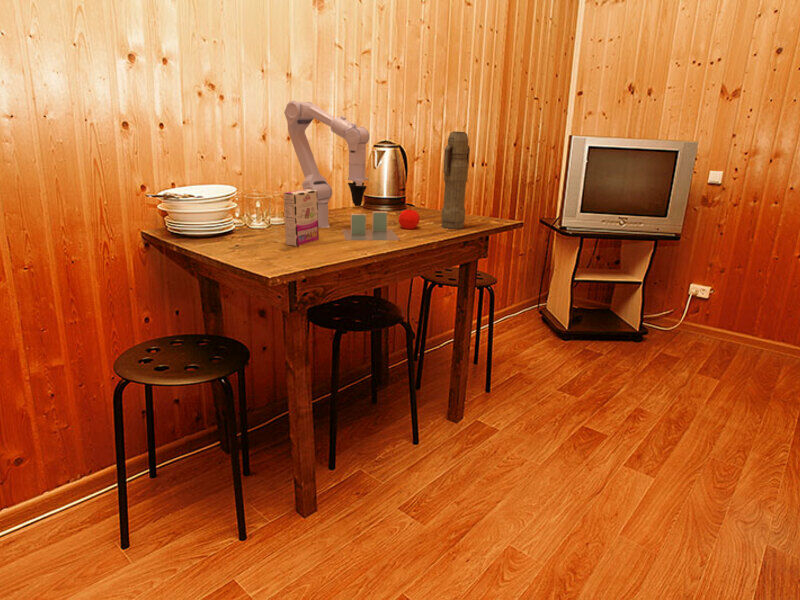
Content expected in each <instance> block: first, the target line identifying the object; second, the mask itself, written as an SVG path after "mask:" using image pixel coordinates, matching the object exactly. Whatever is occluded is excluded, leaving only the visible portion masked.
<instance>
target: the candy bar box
mask: <svg viewBox="0 0 800 600" xmlns="http://www.w3.org/2000/svg"><path fill="white" fill-rule="evenodd" d="M283 211H284V212H283V213H284V230H285V245H286V246H291V247H296V248H298V247H300V245H303V244H307V243H310V242H315V241H318V240H319V237H320V236H319V235H320V234H319V227H318V200H317V190H309V189H305V190H303V189H300V190H293V191H288V192H283Z"/></svg>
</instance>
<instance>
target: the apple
mask: <svg viewBox="0 0 800 600" xmlns="http://www.w3.org/2000/svg"><path fill="white" fill-rule="evenodd" d="M420 220H421V218H420V215H419V213H418V212H417V210H413V209H405V210H403V211H401V212H400V214H399V216H398V223H399V225H400V226H401V228H402V229H405V230H413V229H415V228H417V226H418V225H419V223H420Z"/></svg>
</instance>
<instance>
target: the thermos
mask: <svg viewBox="0 0 800 600" xmlns="http://www.w3.org/2000/svg"><path fill="white" fill-rule="evenodd" d="M468 137H469V136H468V133H467V132H465V131H452V132H450V133H449V135H448V139H447V145H446V146H445V148H444V156H443V157H444V158H443V181H444V194H443V205H442V208H441V216H440V217H441V218H440V219H441V225H440V226H441V228H443V229H447V228H448V229H449V230H461V228H462V229H464V228H465V226H464V225H465V220H466V219H465V218H466V208H465V200H466V186H467V185H466V184H467V181H468V176H469V163H470V154H471V153H470V152H471V151H470V150H471V149H470V146H469V138H468Z"/></svg>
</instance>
